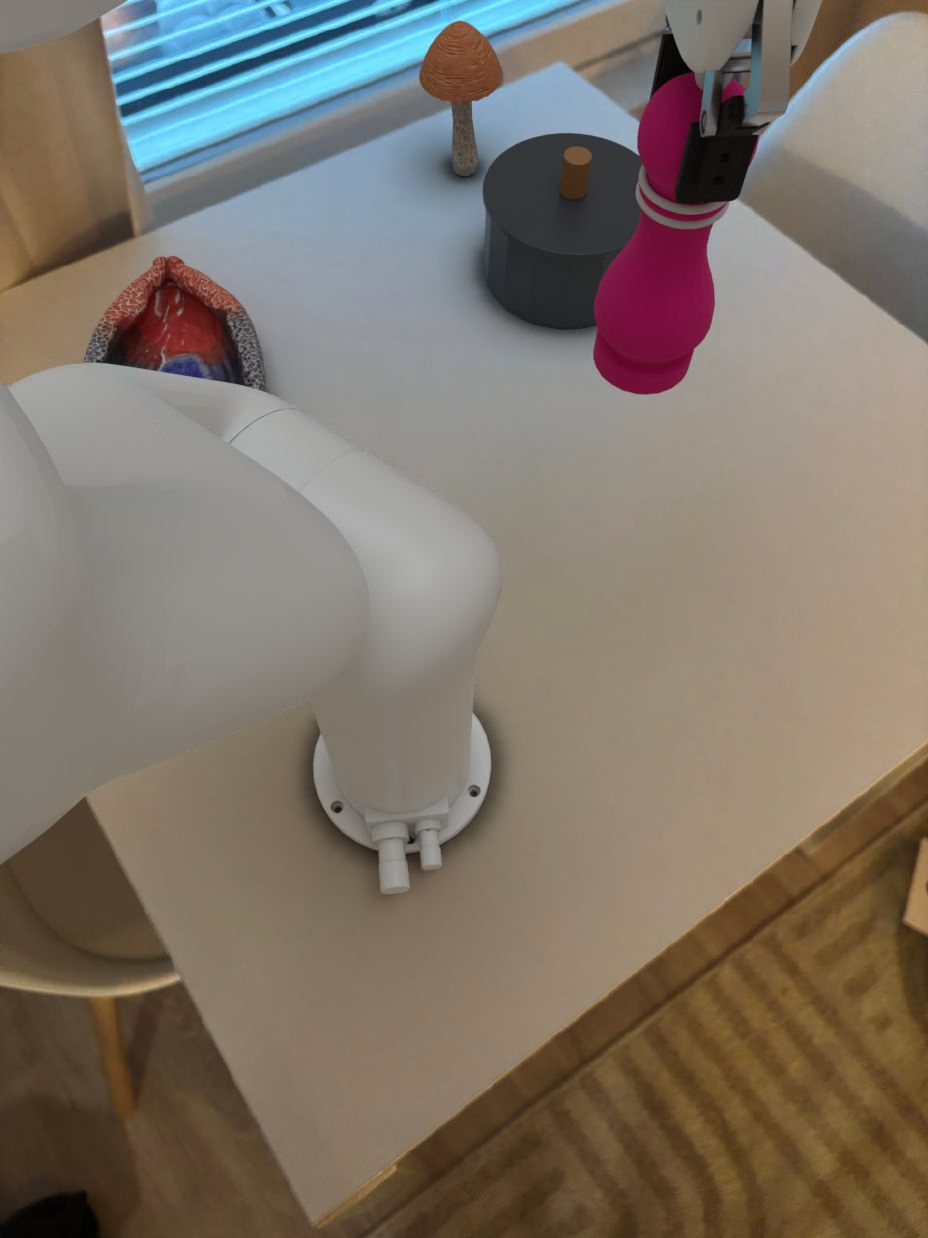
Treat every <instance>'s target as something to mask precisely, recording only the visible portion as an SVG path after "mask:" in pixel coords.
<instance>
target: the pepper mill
mask: <svg viewBox="0 0 928 1238" xmlns="http://www.w3.org/2000/svg"><path fill="white" fill-rule="evenodd" d="M705 73H706V70H705V71H704V72H703V73H695V72H690V73H686V74H683V75H680V76H677V77H675V78H673V79H671V80H669V81H668V82H667V83H665V84H664V85H663V86H662V87H661V88H660V89H659V90H657V91H656V92H655V93H654V95H653V96H652V98H651V99H650V98H649V100H650V101H649V100H648V103H647V104H646V105H645V108H644V110H643V112H642V114H641V117H640V121H639V123H638V128H637V136H636V138H637V139H636V144H637V145H636V148H637V153H638V155H639V156H640V159H641V162H642V164H643V165H642V166H641V168H640V172H639V181H638V183H637V187H636V199H637V202H638V204H639V206H640V207H641V216H640V219H639V223H638V227H637V229H636V231H635V233H634V235H633V237H632V238H631V239H630V241H629V242H628V244H627V245H626V246H625V247H624V248H623V250H622V251H621V252H620V253H619V254H618V256H617V257H616V258H615V259H614V260H613V262H612V263H611V265H610V266H609V268H608V269H607V271H606V273H605V275H604V276H603V278H602V280H601V282H600V285H599V288H598V291H597V295H596V298H595V303H594V317H595V321H596V324H597V325H596V327H597V330H596V334H595V335H596V336H595V340H594V345H593V352H592V354H593V355H592V356H593V363H594V365H595V368H596V369H597V371H598V373H599V374H600V376H601V377H602V378H603V379H604V380H605V381H607V382H608V383H609V384H610V386H613V387H615V388H617V389H619V390H620V391H623V392H626V393H631V394H634V395H643V396H644V395H645V396H647V395H655V394H661V393H664V392H667V391H670V390H671V389H673V388H674V387H676V386H677V385H678V384H680V383H681V382H682V381H683V380H684V379H685V377H686V376H687V373H688V371H689V369H690V365H691V361H692V359H693V356H694V352H695V349H696V348H697V347H698V346H699V345H700V344H702V342H703V341H704V340H705V338H706V336H707V335H708V333H709V331H710V329H711V326H712V322H713V318H714V313H715V307H716V298H715V297H716V295H715V294H716V293H715V283H714V279H713V275H712V271H711V267H710V263H709V258H708V244H709V239H710V235H711V231H712V229H713V226H714V224H715V223H716V222H718V221H719V220H720V219H721V218H722V217H724V215H726V213H727V211H728V209H729V206H730V201H728V202H709V203H689V204H680V203H678V202H677V201H676V197H675V194H674V189H675V185H676V181H677V177H678V173H679V169H680V165H681V161H682V156H683V152H684V148H685V144H686V140H687V136H688V132H689V128H690V124H691V122H699V121H700V112H701V104H702V96H703V89H704V81H705ZM733 75H734V73H726V74H725V80H724V87H723V94H722V102H724V101H725V100H727V99H728V98H730V97H731V96H735V95H742V94H743V91H745V90H746V89H747V88H745V87H744V85H743V84H741V83H740V82H738V81H736V80H735V79H733ZM722 102H721V103H722ZM759 141H760V135H759V136H758V139H757V142H756V145H755V148H754V152H753V155H752V158H751V161H750V164H749V167H750V166H751V164H752V162H753V160H754V158H755V155H756V152H757V150H758V145H759Z"/></svg>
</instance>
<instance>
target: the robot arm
mask: <svg viewBox="0 0 928 1238" xmlns="http://www.w3.org/2000/svg"><path fill="white" fill-rule="evenodd" d="M128 1H129V0H0V55H5V54H9V53H10V54H11V53H16V52H21V51H23V50H27V49H30V48H33V47H35V46H38V45H42V44H44V43H47V42H50V41H53V40H56V39H59V38H62V37H66V36H69V35H70V34H73V33H75V32H77V31H79V30H80V29H82V28H83V27H86V26H88V25H89V24H91V23H92V22H95V21H96V20H97V19H99V18H100V17H102V16H104V15H106V14H107V13H109V12H111V11H112V10H114V9H116V8H118V7H120V6H121V5H123V4H125V3H126V2H128ZM661 2H662V5H663V9H664V11H665V15H664V25H665V30H666V31H667V32H672V33H662V34H661V39H660V45H659V50H658V54H657V61H656V65H655V69H654V75H653V81H652V84H651V89H650V95H649V100H648V102H649V101H650V99H651V98H652V96H653V95H654V93H655V92H656V91H657V90H659V89H660V88H661V87H662V86H663V85H664V84H665V83H667V82H668V81H669V80H671V79H673V78H675V77H677V76H680V75H683V74H686V73H690V72H695V73H703V72H704V71H705V70H706V73H705V81H704V89H703V96H702V104H701V112H700V121H699V122H691V124H690V128H689V132H688V136H687V140H686V144H685V148H684V152H683V156H682V161H681V165H680V169H679V173H678V177H677V181H676V185H675V189H674V194H675V197H676V201H677V202H678V203H680V204H689V203H709V202H728V201H729V202H733V201H736V200H737V199H738V198H739V197H740V195H741V193H742V190H743V186H744V183H745V180H746V177H747V173H748V170H749V167H750V166H749V164H750V161H751V158H752V155H753V152H754V148H755V145H756V142H757V139H758V136H759V137H760V135H763V134H764V133H765V130H766V128H767V126H769V125H770V123H771V122H772V121H775V120H776V119H779V118H780V117H782V116H784V115H785V114H786V112H787V110H788V106H789V101H790V80H791V79H790V78H791V67H792V66H793V65H794V64H795V63H796V62H797V61H798V60H799V58H800V57H801V55H802V53H803V52H804V49H805V47H806V45H807V43H808V40H809V38H810V35H811V33H812V30H813V28H814V25H815V22H816V19H817V16H818V15H819V11H820V8H821V5H822V2H823V0H661ZM743 40H751V42H750V44H751V45H750V51H742V52H741V51H740V52H735V51H736V49H737V48H738V46H739V45H740V44H741V42H742V41H743ZM726 73H733V74H744V73H745V74H746V73H749V74H750V75H749V80H748V84H747V87H746V88H745V89H746V90H745V91H743V94H742V95H735V96H731V97H730V98H728V99H727V100H725V101H724V102H722V94H723V87H724V80H725V74H726ZM721 102H722V103H721ZM503 582H504V566H503V561H502V558H501V554H500V551H499V549H498V547H497V545H496V543H495V542H494V541H493V539H492V538H491V536H490V535H489V534H488V532H487V531H486V530H485V529H484V528H483V527H482V526H481V525H480V523H478V522H477V520H476V519H474V518H473V517H472V516H470V514H468V513H467V512H466V511H465V510H464V509H463V508H461V507H460V506H458V505H457V504H455V503H454V502H453V501H452V500H450V499H448V498H447V497H446V496H444V495H443V494H441V493H440V492H438V491H437V490H435V489H434V488H432V487H431V486H430V485H427V484H426V483H424V482H423V481H421V480H420V479H417V477H415V476H413V475H411V474H410V473H408V472H406V471H405V470H403V469H402V468H399V467H398V466H397V465H395V464H393V463H391V462H390V461H388V460H387V459H385V458H383V457H382V456H380V455H378V454H377V453H375V452H372V451H369V450H367V449H366V448H364V447H362V446H361V445H359V444H357V443H356V442H354V440H351V439H349V438H348V437H346V436H344V435H343V434H341V433H340V432H338V431H336V430H335V429H333V428H331V427H330V426H328V425H326V423H323V422H322V421H320V420H319V419H317V418H315V417H313V416H311V415H310V414H308V413H306V412H305V411H303V410H302V409H300V408H298V407H296V406H295V405H293V404H291V403H289V402H288V401H286V400H284V399H282V398H280V397H278V396H276V395H273V394H271V393H269V392H267V391H266V392H264V391H261V390H257V389H254V388H251V387H247V386H242V385H238V384H232V383H227V382H221V381H214V380H208V379H202V378H196V377H190V376H184V375H177V374H171V373H165V372H159V371H153V370H146V369H140V368H134V367H128V366H120V365H113V364H106V363H83V362H77V363H67V364H63V365H57V366H53V367H51V368H48V369H45V370H41V371H38V372H35V373H33V374H30V375H27V376H25V377H24V378H21V379H19V380H17V381H16V382H14V383H12V384H10V385H8V386H7V385H6V384H5V383H4V382H3V380H2V379H1V378H0V865H3V864H4V863H5V862H7V861H8V860H9V859H10V858H12V857H13V856H14V855H16V854H17V853H19V852H20V851H22V850H23V849H24V848H25V847H27V846H28V845H29V844H31V843H32V842H33V841H35V840H36V839H37V838H39V837H40V836H41V835H43V834H44V833H45V832H47V831H48V830H50V828H52V827H53V826H54V825H55V824H56V823H57V822H58V821H60V819H62V818H63V817H64V816H65V815H66V814H68V813H69V811H71V810H72V809H73V808H74V807H76V805H78V803H79V802H81V800H83V799H84V798H85V797H87V796H88V795H90V794H91V793H93V792H94V791H96V790H98V789H99V788H100V787H102V786H104V785H106V784H109V783H111V782H113V781H114V780H117V779H119V778H122V777H125V776H128V775H130V774H133V773H134V774H135V773H136V772H139V771H142V770H146V769H148V768H151V767H153V766H155V765H158V764H161V763H163V762H167V761H169V760H171V759H174V758H176V757H178V756H181V755H183V754H186V753H187V752H191V751H193V750H196V749H198V748H201V747H204V746H206V745H209V744H211V743H213V742H215V741H219V740H221V739H224V738H226V737H228V736H231V735H233V734H235V733H238V732H241V731H243V730H246V729H249V728H250V727H253V726H255V725H258V724H261V723H263V722H265V721H266V722H267V721H268V720H271V719H273V718H276V717H278V716H280V715H282V714H284V713H286V712H289V711H291V710H293V709H294V708H296V707H298V706H300V705H302V704H303V703H305V702H307V701H309V703H310V707H311V710H312V711H313V713H314V716H315V720H316V723H317V727H318V728H319V732H320V733H319V736H318V738H317V741H316V745H315V748H314V754H313V759H312V761H313V762H312V769H313V770H312V771H313V783H314V786H315V790H316V794H317V798H318V800H319V802H320V804H321V807H322V808H323V810H324V812H325V813H326V815H327V816H328V818H329V820H330V821H331V822H332V823H333V824H334V825H335V826H336V827H337V829H339V831H340V832H341V833H343V834H344V835H345V836H346V837H348V838H349V839H351V840H353V841H354V842H355V843H357V844H359V845H362V846H364V847H366V848H368V849H370V850H374V851H377V852H378V862H379V863H378V875H379V876H378V877H379V888H380V889H379V890H380V894H384V895H394V894H395V895H396V894H402V893H405V892H408V891H410V890H411V884H410V874H409V863H408V861H407V856H406V854H413V853H418V852H419V858H420V860H419V861H420V868H421V870H423V871H433V870H438V869H441V868H442V867H443V860H442V851H441V846H440V845H442V844H444V843H445V842H448V841H449V840H451V839H452V838H454V837H456V836H457V835H458V834H459V833H461V831H463V830H464V829H465V828H466V827H467V826H468V825H469V824H470V823H471V821H472V820H473V819H474V817H475V816H476V815H477V813H479V811H480V808H481V807H482V805H483V802H484V800H485V798H486V796H487V792H488V789H489V785H490V781H491V773H492V754H491V749H490V748H491V747H490V744H489V740H488V739H489V738H488V736H487V734H486V731H485V730H484V727H483V725H482V723H481V721H480V720H479V718H478V717H477V716H476V714H475V713H474V694H475V676H476V675H475V674H476V663H477V657H478V653H479V650H480V648H481V645H482V643H483V641H484V639H485V637H486V634H487V632H488V630H489V628H490V625H491V623H492V621H493V620H494V617H495V614H496V611H497V609H498V605H499V602H500V599H501V595H502V589H503ZM472 793H476V794H477V795H476V796H472V795H471V794H472ZM338 808H339V809H341V810H340V811H339V812H336V809H338ZM410 839H412V840H413V842H412V843H408V842H410Z"/></svg>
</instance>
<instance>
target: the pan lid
mask: <svg viewBox="0 0 928 1238" xmlns="http://www.w3.org/2000/svg"><path fill="white" fill-rule="evenodd" d="M642 165H643V164H642V162H641V159H640V156H639V153H638V154H637V153H636V152H635V151H633V150H632V149H630V148H628V147H626V146H625V145H622V144H620V143H618V142H616V141H613V140H610V139H607V138H605V137H601V136H596V135H592V134H586V133H575V132H557V133H548V134H541V135H538V136H534V137H531V138H526V139H525V140H522V141H519V142H517V143H515V144H513V145H511V146H510V147H508V148H507V149H505V150H504V151H503V152H501V153H500V154H499V155H498V156H497V157H496V158H495V159H494V160H493V161H492V163H491V164H490V165H489V167H488V169H487V171H486V173H485V174H484V178H483V181H482V193H481V194H482V202H483V205H484V209H485V212H486V211H487V213H488V215H489V217H490V219H491V220H492V222H493V223H494V225H495V226H496V227H497V228H498V229H499V230H500V231H501V232H502V233H503V234H505V235H506V236H507V237H508V238H510V239H511V240H513V241H514V242H516V243H518V244H519V245H521V246H523V247H525V248H528V249H530V250H532V251H535V252H538V253H541V254H545V255H549V256H553V257H559V258H567V259H591V258H599V257H604V256H609V255H613V254H616V253H619V252H621V251H622V250H623V248H624V247H625V246H626V245H627V244H628V242H629V241H630V239H631V238H632V237H633V235H634V233H635V231H636V229H637V227H638V223H639V219H640V216H641V207H640V206H639V204H638V202H637V199H636V187H637V183H638V181H639V172H640V168H641V166H642Z"/></svg>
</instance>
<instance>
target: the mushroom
mask: <svg viewBox="0 0 928 1238" xmlns="http://www.w3.org/2000/svg"><path fill="white" fill-rule="evenodd" d="M427 49H428V50H427V51H426V53H425V56H424V57H423V61H422V64H421V66H420V70H419V73H418V80H419V84H420V86H421V88H422V89H423V90H424V91H425V92H426V93H427V94H429V95H430V96H431V97H433V98H436V99H438V100H440V101H441V102H450V106H451V108H450V109H451V115H452V117H451V118H452V137H451V161H452V162H451V163H452V166H453V171H454V173H455V174H456V175H458V176H460V177H469V176H472V175H473V174H475V173H476V172H477V170H478V166H479V165H478V164H479V153H478V148H477V147H478V146H477V141H476V133H475V125H474V120H473V102H478V101H480V100H482V99H484V98H487V97H489V96H490V95H492V94H493V93H494V92H495V91H496V90H497V89H498V88H499V87H500V85H501V84H502V82H503V80H504V72H503V68H502V65H501V63H500V60H499V58H498V55H497V53H496V51H495V49H494V48H493V45H492V44H491V43H490V41H489V40H488V39H487V37H485V35H484V34H483V33H482V32H481V31H479V29H477V28H476V27H475V26H474V25H472V24H471V23H469V22H467V21H464V20H456V21H453V22H450V23H449V24H448V25H447V26H446V27H444V28H443V29H442V30H441V31H440V32H439V33H438V35H437V36H436V37H435V38H434V40H433V41H432V43H431V44H430V45H429V47H428V48H427Z"/></svg>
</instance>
